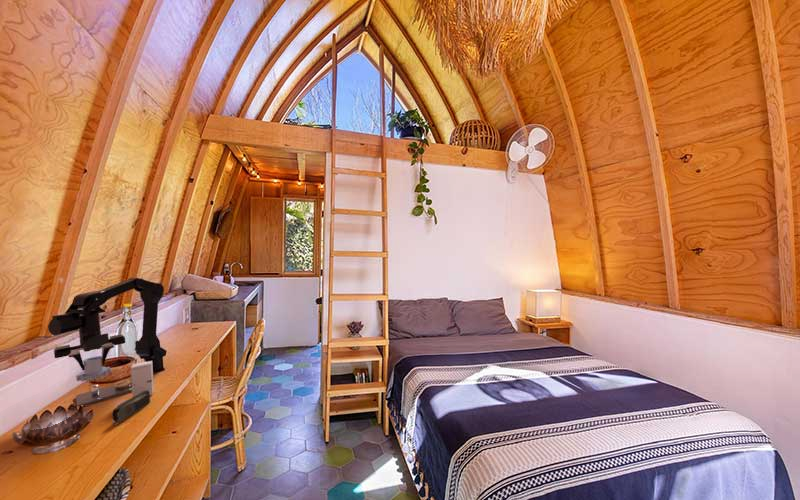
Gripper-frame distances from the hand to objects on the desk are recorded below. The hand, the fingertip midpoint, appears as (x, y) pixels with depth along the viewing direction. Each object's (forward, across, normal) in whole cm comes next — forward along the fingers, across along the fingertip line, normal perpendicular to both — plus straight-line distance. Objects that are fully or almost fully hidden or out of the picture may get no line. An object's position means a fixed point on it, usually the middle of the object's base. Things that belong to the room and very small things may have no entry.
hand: (93, 367), depth 117 cm
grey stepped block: (+3, 0, 0) cm, 3 cm away
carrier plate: (+11, +4, 0) cm, 12 cm away
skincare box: (+12, +12, -14) cm, 22 cm away
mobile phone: (+12, +6, -27) cm, 30 cm away
